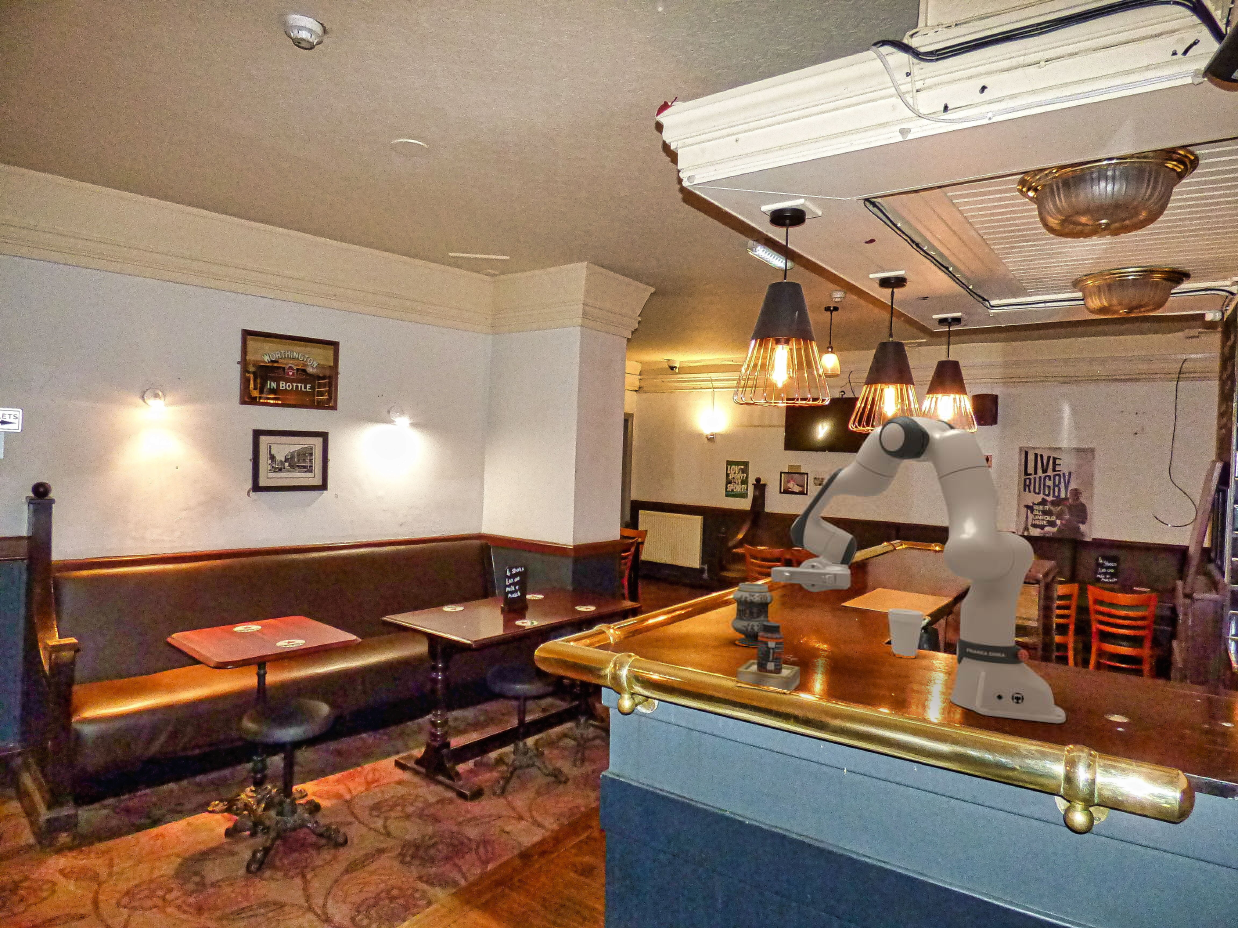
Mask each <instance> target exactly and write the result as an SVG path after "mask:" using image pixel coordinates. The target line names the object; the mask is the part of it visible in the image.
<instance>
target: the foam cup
mask: <svg viewBox="0 0 1238 928" xmlns="http://www.w3.org/2000/svg"><path fill="white" fill-rule="evenodd" d="M887 610H888V611H887V612H888V613H887V614H888V615H887V618H888V624H889V631H890V643H891V644H890V645H891V652H892V651H893V652H894V653H896V654H900V655H904V656H915V655H916V654H917V653H918V648H919V643H920V637H921V630H922V625H923V622H924V613H923V612H922V611H919V610H914V609H912V610H911V609H905V608H889V609H887ZM916 656H917V655H916Z"/></svg>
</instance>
